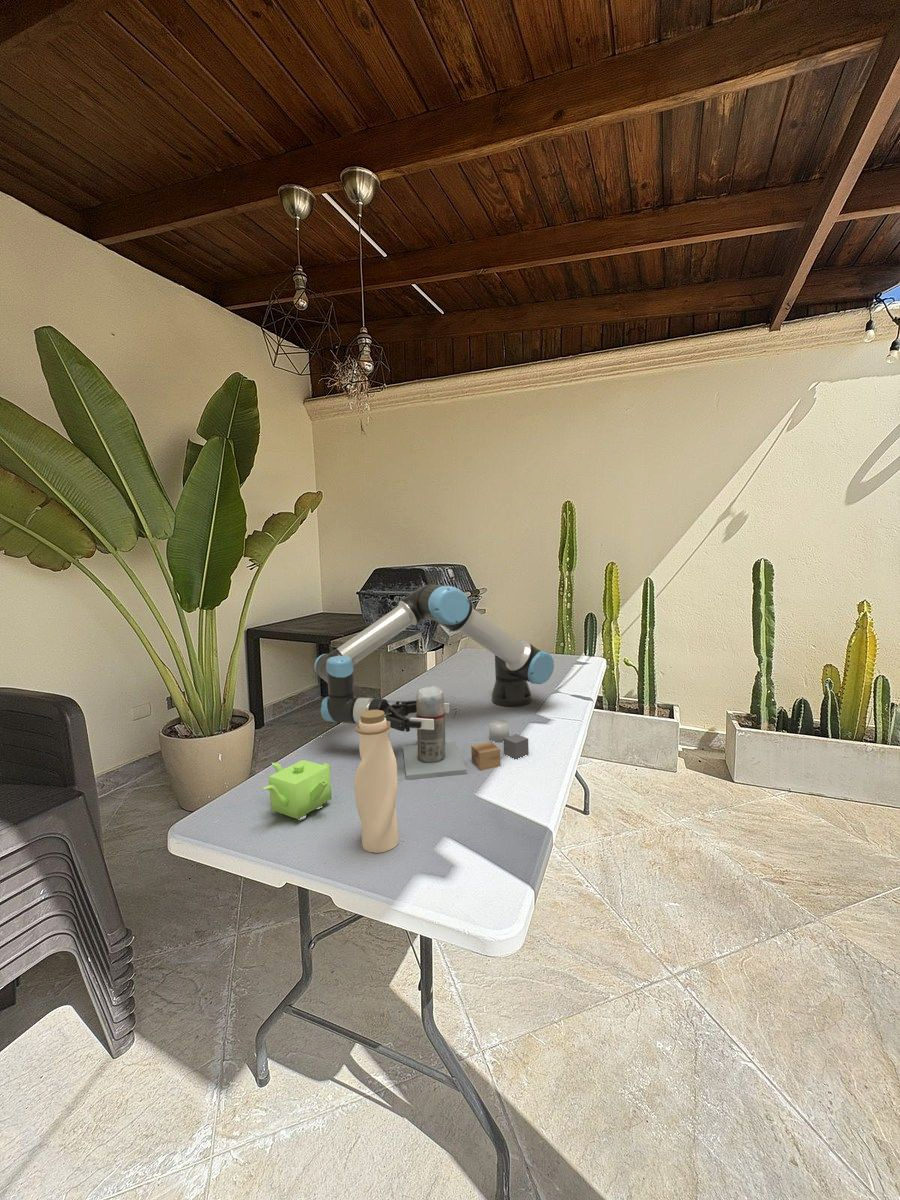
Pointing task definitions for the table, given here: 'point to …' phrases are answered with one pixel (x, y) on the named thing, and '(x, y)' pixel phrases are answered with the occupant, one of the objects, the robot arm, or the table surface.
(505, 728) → the white rounded cylinder
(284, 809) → the kettle
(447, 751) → the slate board
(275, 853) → the table surface
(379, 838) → the water bottle
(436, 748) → the red-banded paper cylinder
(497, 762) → the walnut block
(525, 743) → the charcoal rubber cube
